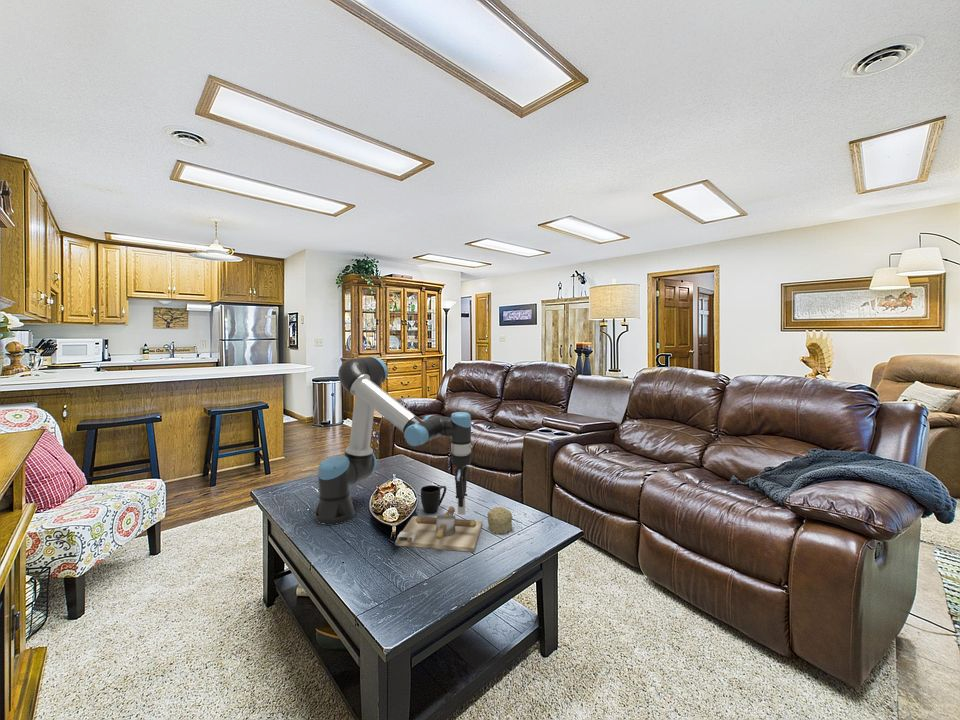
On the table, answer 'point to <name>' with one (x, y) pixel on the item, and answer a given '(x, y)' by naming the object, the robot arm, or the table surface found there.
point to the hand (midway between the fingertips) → (461, 513)
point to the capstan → (445, 523)
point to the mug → (431, 498)
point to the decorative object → (499, 520)
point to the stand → (427, 539)
